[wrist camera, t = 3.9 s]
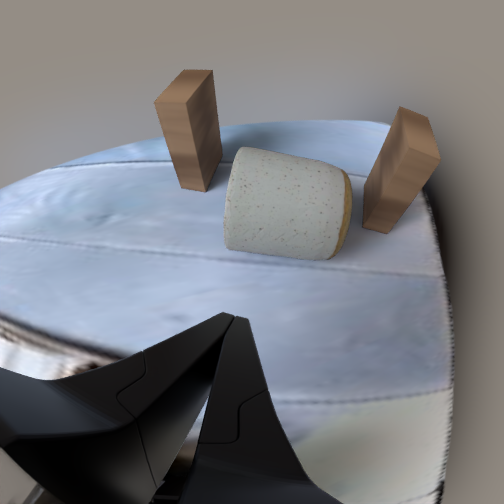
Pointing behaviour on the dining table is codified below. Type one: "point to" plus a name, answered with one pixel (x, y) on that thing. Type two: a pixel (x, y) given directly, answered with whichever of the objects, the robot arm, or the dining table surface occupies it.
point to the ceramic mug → (286, 206)
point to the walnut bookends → (210, 153)
